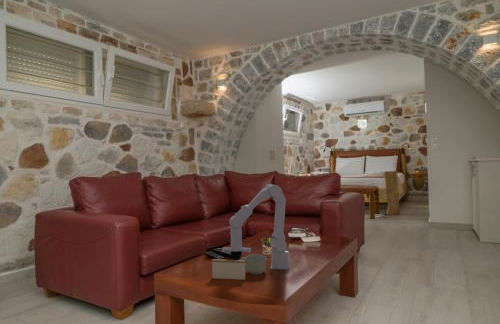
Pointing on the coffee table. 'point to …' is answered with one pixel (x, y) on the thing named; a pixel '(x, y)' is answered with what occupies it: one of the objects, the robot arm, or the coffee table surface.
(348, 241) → the coffee table surface
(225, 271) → the cream slab
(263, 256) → the teacup
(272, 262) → the robot arm
